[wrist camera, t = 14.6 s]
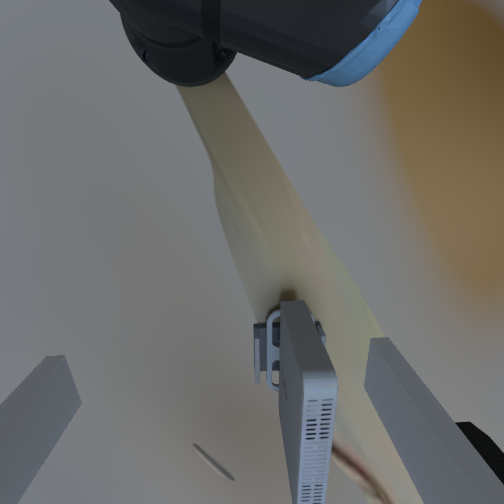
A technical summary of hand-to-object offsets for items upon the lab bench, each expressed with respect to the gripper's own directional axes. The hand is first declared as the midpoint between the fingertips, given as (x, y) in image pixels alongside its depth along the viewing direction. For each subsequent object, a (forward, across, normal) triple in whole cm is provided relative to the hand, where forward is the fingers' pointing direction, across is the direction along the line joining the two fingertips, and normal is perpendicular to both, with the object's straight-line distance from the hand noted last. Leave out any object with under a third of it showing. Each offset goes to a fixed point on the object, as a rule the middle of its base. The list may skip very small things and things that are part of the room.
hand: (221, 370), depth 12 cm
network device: (+32, +8, -27) cm, 43 cm away
